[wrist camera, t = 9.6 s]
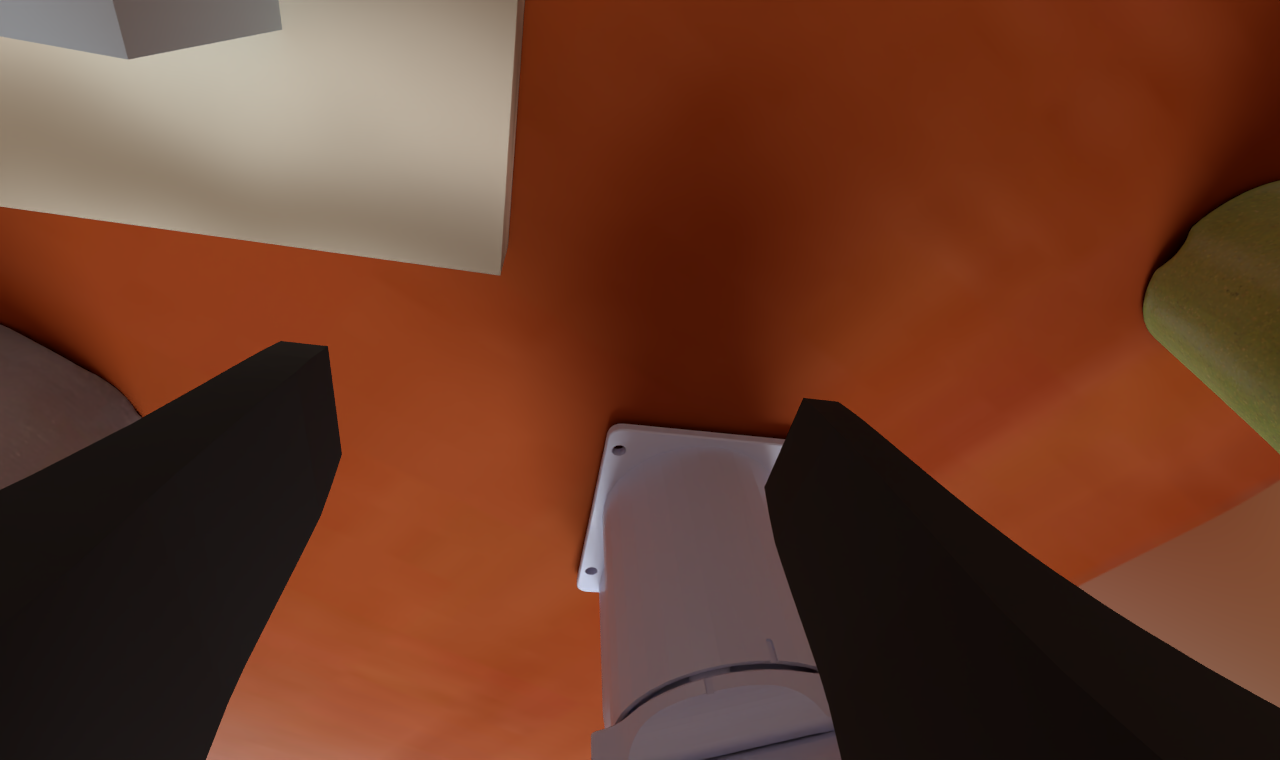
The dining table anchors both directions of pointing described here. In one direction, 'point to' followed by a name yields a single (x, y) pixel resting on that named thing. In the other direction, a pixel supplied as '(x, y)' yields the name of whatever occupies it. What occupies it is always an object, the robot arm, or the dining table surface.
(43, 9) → the grey block
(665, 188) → the dining table surface
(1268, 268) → the plant pot
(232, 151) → the birch base
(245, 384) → the robot arm
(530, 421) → the dining table surface
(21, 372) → the pillar candle
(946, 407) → the dining table surface
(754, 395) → the dining table surface
